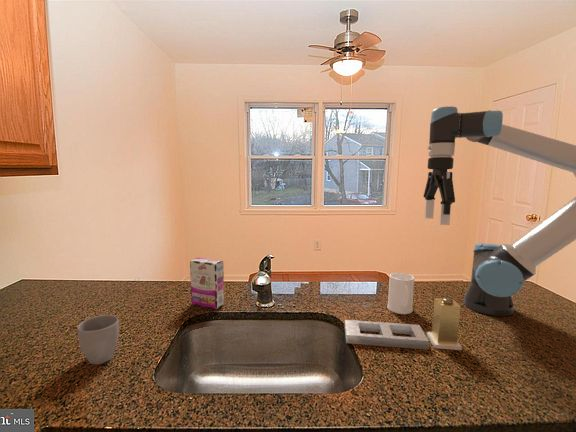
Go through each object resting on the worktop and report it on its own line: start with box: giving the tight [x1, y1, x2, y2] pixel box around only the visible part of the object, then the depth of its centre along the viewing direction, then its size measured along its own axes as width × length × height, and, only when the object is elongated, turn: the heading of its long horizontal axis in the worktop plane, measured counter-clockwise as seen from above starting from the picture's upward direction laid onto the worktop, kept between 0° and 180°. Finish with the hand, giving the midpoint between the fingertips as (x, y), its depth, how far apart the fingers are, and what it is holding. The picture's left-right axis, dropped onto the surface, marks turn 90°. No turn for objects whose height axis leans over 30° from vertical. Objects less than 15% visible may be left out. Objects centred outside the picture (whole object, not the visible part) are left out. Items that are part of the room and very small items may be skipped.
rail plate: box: [344, 319, 430, 350], centre depth 89 cm, size 22×9×2 cm, turn 83°
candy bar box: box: [189, 257, 225, 310], centre depth 109 cm, size 11×5×16 cm, turn 68°
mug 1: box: [77, 314, 120, 365], centre depth 79 cm, size 12×9×10 cm
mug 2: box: [386, 272, 415, 315], centre depth 106 cm, size 12×8×12 cm
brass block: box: [431, 296, 461, 345], centre depth 86 cm, size 5×5×12 cm
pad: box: [426, 331, 463, 351], centre depth 87 cm, size 7×7×1 cm
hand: (436, 221), depth 103 cm, fingers open, 13 cm apart
